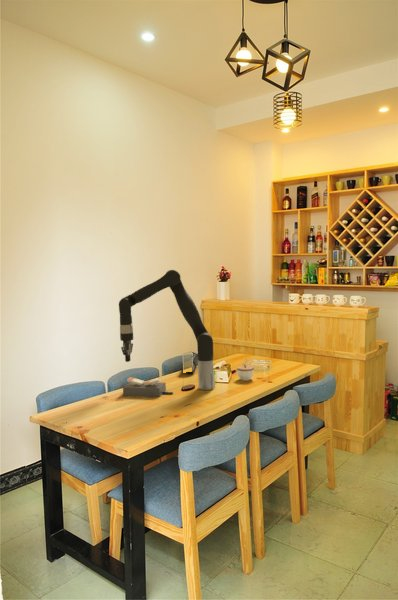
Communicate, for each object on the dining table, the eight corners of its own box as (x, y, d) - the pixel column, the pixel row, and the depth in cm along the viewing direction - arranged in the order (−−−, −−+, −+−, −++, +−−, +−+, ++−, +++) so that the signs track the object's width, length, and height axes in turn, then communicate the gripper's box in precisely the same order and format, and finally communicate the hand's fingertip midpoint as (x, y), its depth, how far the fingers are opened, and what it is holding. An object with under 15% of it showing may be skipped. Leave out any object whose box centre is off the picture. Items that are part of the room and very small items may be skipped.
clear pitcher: (199, 365, 332) (199, 351, 331) (195, 375, 304) (195, 359, 304) (187, 365, 333) (186, 351, 332) (181, 375, 305) (181, 360, 305)
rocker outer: (143, 384, 267) (144, 380, 267) (140, 387, 262) (141, 383, 261) (129, 380, 269) (130, 376, 268) (126, 382, 263) (127, 379, 263)
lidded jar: (256, 378, 289) (256, 363, 288) (249, 382, 280) (249, 367, 279) (241, 376, 295) (241, 362, 294) (234, 380, 286) (233, 365, 285)
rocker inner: (162, 381, 264) (161, 377, 264) (159, 383, 259) (158, 379, 259) (148, 384, 266) (147, 380, 266) (145, 387, 261) (143, 383, 261)
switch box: (175, 391, 267) (175, 382, 266) (170, 397, 255) (169, 388, 254) (130, 390, 273) (130, 381, 272) (123, 395, 261) (122, 387, 261)
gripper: (128, 333, 256) (129, 363, 258) (136, 330, 269) (138, 358, 271) (115, 333, 258) (117, 363, 259) (124, 330, 271) (126, 358, 272)
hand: (128, 361), depth 265 cm, fingers closed
